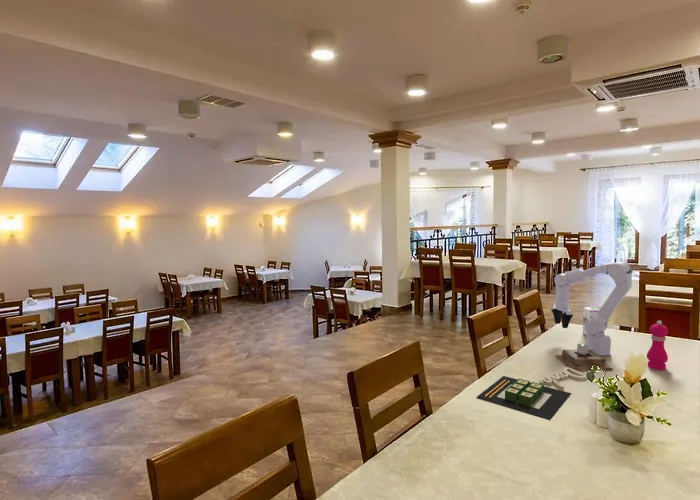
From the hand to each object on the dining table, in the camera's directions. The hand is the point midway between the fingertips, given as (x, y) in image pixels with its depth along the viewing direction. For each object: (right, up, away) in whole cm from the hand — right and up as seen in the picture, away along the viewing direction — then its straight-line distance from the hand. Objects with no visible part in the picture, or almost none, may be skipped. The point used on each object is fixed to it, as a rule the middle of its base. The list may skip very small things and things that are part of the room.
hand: (561, 325), depth 210 cm
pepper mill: (+25, -13, -29) cm, 41 cm away
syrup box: (+22, -8, +14) cm, 28 cm away
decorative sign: (-19, -15, -41) cm, 47 cm away
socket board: (-2, -12, -24) cm, 27 cm away
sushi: (-40, -17, -54) cm, 69 cm away
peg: (-3, -11, -24) cm, 26 cm away
